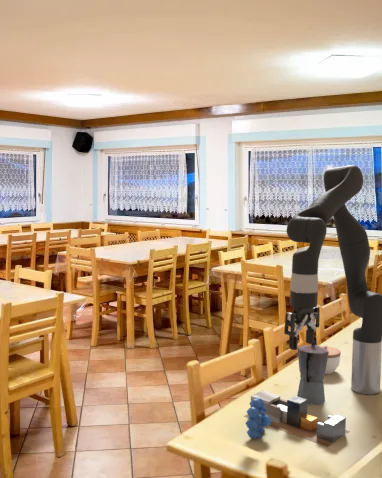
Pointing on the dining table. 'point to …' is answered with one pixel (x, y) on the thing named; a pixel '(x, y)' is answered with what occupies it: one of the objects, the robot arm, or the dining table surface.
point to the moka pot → (312, 373)
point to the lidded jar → (332, 359)
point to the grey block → (297, 414)
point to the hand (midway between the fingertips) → (301, 346)
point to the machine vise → (275, 416)
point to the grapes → (257, 418)
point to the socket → (332, 428)
